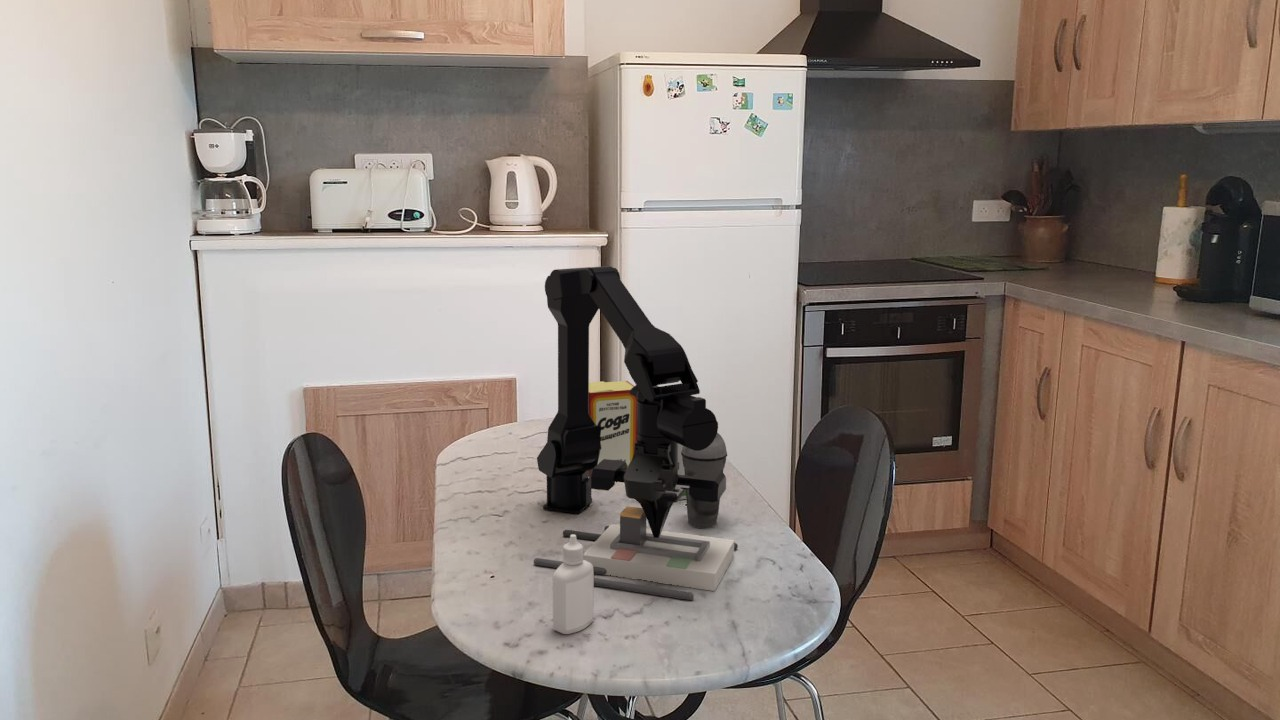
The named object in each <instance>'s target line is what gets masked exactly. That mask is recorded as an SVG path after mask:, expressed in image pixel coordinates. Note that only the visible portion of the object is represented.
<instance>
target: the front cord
mask: <svg viewBox="0 0 1280 720" xmlns="http://www.w3.org/2000/svg"><path fill="white" fill-rule="evenodd" d="M562 563H564V561H562V560H561V561H560V560H555V559H554V560H553V559H547V558H541V557H535V558H534V559H533V564H534V565H535V566H541V567H546V568H547V567H548V568H555V569H557V568H558V567H559V566H560V565H561V564H562ZM593 572H594V575H595V574H596V575H602V576H606V575H605V574H606V569H605V568H601V567H594V566H593ZM594 587H601V588H602V587H603V588H609V589H614V590H615V589H616V590H622V591H623V590H624V591H629V592H634V593H635V592H636V593H640V594H641V593H642V594H649V595H656V596H661V597H668V598H673V599H675V598H676V599H681V600H688V601H691V600H694V598H695V594H694V593H693V592H691V591H685V590H680V589H679V590H677V589H671V588H666V587H657V586H651V585H644V584H638V583H631V582H625V581H617V580H610V579H605V578H598V577H594Z"/></svg>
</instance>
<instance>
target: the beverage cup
mask: <svg viewBox="0 0 1280 720" xmlns="http://www.w3.org/2000/svg"><path fill="white" fill-rule="evenodd" d="M681 455H682V461H683V466H684V470H685V475H687V476H693V475H694V474H695V473H696V472H697V470H698V469H706V470H716V471H722V472H723V473H724V470H725V469H724V468H725V466H726V461H727V457H728V452H727V446H726V442H725V440H724V439H723V437H722V435H721V434H720V433H719V432H717V435H716V437H715V439H714V441H713V442H712V443H711V444H710V446H708V447H707V448H705V449H703V450H700V451H695V450H692V449H689V448H687V447H685V446H683V448H682V451H681ZM685 500H686V513H687V518H688V522H687V524H689V525H688V526H691V527H692V528H693V527H694V528H698V529H710V528H714V527H715V526H717V523H718V521H717V520H718V516H719V510H720V502H721V498H720V499H719V500H718V501H717V502H705V501H696V500H694V499H693V498H692V497H691V496H690V495H689V490H687V489H686V499H685Z"/></svg>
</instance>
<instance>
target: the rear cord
mask: <svg viewBox="0 0 1280 720" xmlns="http://www.w3.org/2000/svg"><path fill="white" fill-rule="evenodd" d="M609 526H610V525H606V526H604V529H603V530H604V531H605V530H606V529H607V528H608V527H609ZM572 534H574V535H576V538H577V539H583V540H590V541H596V540H597V539H598V538H599V537H600V536H601V535H602V534H603V533H602V534H600V533H593V532H588V531H587V532H586V531H577V530H570V529H564V530H563V531H562V536H564V537H568V538H570V535H572ZM738 546H739V545H738V543H736V542H734V550H737V549H738Z"/></svg>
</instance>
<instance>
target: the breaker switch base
mask: <svg viewBox="0 0 1280 720" xmlns="http://www.w3.org/2000/svg"><path fill="white" fill-rule="evenodd" d="M608 526H609V527H608V528H607V529H606V530H604V531H603V532H602V535H601V536H600V537H599V538H598V539H597V540H594V542H593V543H592V545H590V547H588V549H587V550H586V551H585V552H583V560H585V561H588V562H590V563H591V564H592V565H593V566H594V567H601V568H605V569H606V574H605V575H604V576H610V575H611V577H616V576H618V577H617V578H623V577H625V578H624V579H630V578H634V579H633V580H637V579H642V580H641V581H643V580H647V581H646V582H650V581H653V582H652V583H657V582H658V583H659V584H664V585H670V584H672V586H677V585H679V586H678V587H683V588H684V587H685V588H690V587H691V589H692V588H693V589H699V590H706V591H712V592H715V591H716V590H717V589H718V587H719V584H720V582H721V581H722V579H723V577H724V575H725V573H726V572H727V570H728V568H729V567H730V564H731V563H732V561H733V559H734V556H735V549H734V543H735V540H734V539H727V538H721V537H714V536H713V537H711V536H706V535H704V536H703V535H696V534H691V533H689V534H688V533H684V532H683V533H681V532H675V531H666V530H662V532H661V535H660V537H659V538H654V536H653V534H652V531H651V528H646V541H645V543H644V544H643V545H642V546H640V545H633V544H626V543H620V524H613V523H611V524H610V525H608ZM658 583H657V584H658Z"/></svg>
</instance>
